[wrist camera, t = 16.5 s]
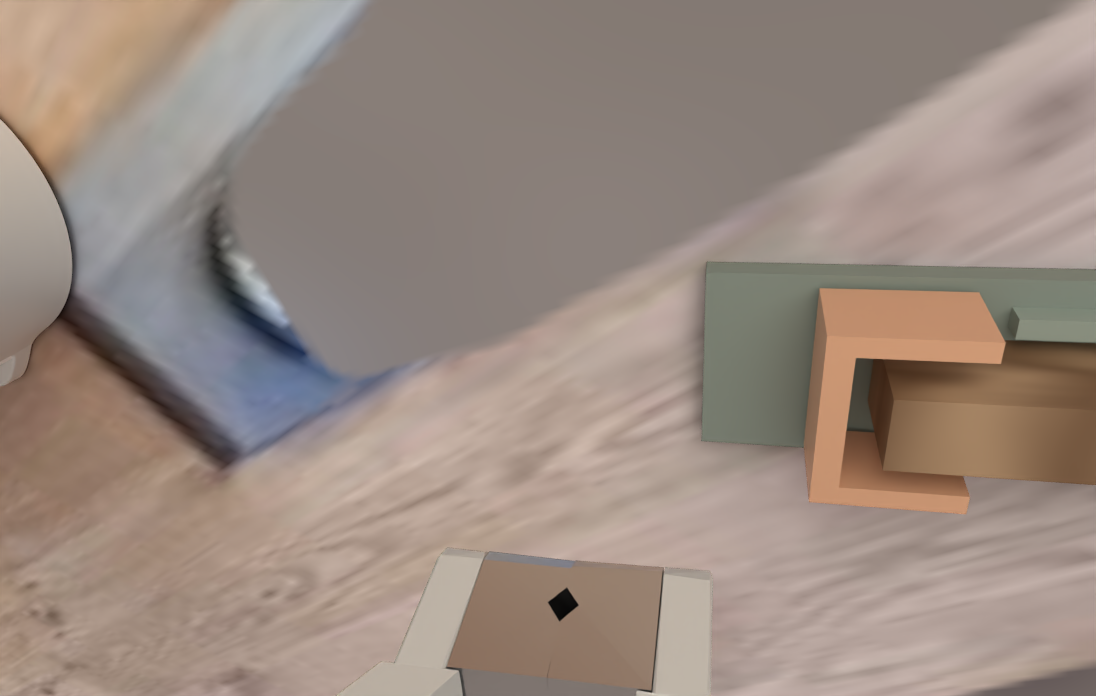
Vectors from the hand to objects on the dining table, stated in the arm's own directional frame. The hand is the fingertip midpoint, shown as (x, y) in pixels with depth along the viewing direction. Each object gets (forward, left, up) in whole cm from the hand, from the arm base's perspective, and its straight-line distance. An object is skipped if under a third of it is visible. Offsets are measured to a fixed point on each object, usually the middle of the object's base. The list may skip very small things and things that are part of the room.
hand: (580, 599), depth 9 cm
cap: (+7, -11, -23) cm, 26 cm away
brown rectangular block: (+13, -11, -23) cm, 29 cm away
